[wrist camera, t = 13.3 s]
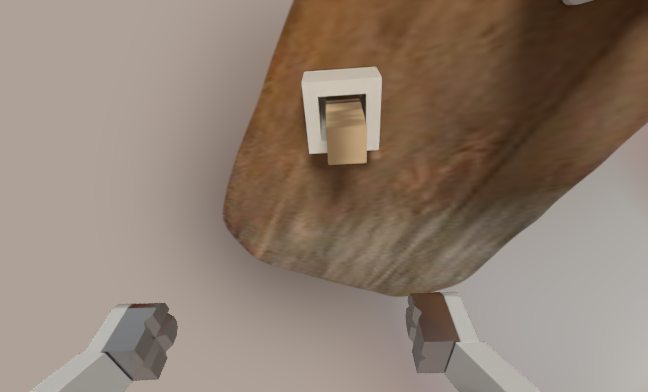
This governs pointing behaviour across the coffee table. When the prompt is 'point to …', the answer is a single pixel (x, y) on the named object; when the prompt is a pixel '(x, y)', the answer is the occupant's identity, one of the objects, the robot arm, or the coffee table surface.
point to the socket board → (336, 84)
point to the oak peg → (345, 130)
